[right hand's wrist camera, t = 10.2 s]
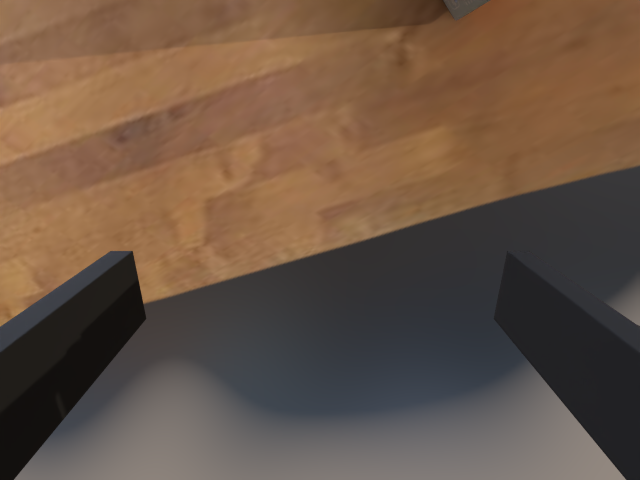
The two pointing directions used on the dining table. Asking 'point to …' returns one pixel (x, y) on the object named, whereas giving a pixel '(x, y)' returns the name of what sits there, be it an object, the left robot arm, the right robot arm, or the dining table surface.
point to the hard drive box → (463, 7)
